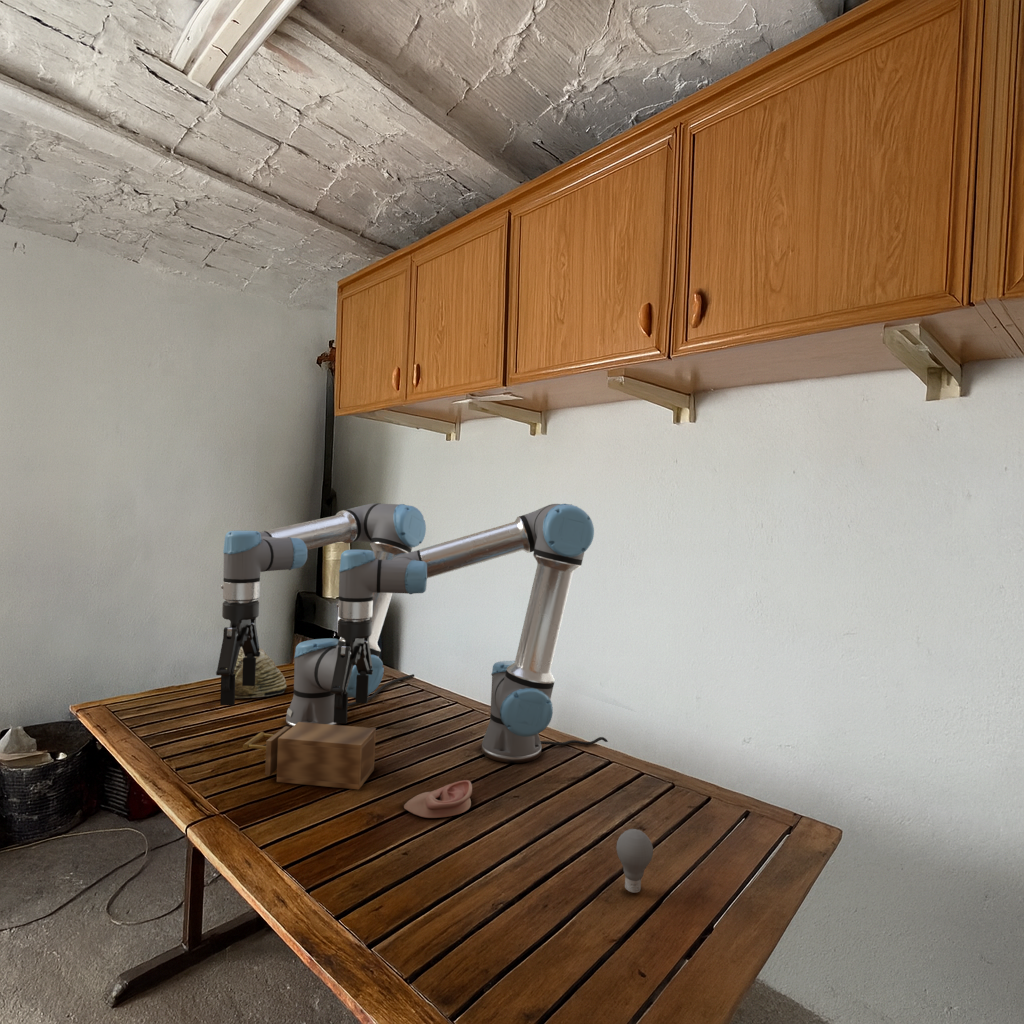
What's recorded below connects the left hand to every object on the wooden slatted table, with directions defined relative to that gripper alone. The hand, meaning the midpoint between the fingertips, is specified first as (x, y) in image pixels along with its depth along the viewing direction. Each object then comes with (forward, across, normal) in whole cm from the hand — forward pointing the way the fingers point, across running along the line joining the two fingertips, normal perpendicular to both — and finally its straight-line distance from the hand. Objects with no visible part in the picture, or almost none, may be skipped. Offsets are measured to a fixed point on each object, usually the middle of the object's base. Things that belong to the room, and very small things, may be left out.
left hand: (238, 694), depth 141 cm
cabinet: (+18, 0, +20) cm, 27 cm away
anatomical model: (+18, +14, +46) cm, 51 cm away
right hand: (+3, +1, +25) cm, 25 cm away
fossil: (+19, -57, -14) cm, 62 cm away
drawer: (+17, -1, +13) cm, 22 cm away
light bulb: (+18, +43, +79) cm, 92 cm away
